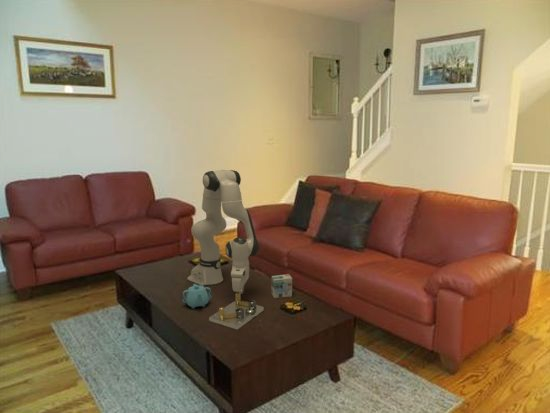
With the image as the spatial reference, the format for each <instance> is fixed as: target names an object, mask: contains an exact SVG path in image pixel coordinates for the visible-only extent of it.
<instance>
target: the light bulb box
mask: <svg viewBox="0 0 550 413" xmlns="http://www.w3.org/2000/svg"><path fill="white" fill-rule="evenodd" d="M271 295H272V297H273V299H279V298H288V297H289V298H290V297H292V296H293V277H292V276H291V275H290V274H289V273H287V274H279V275H271Z"/></svg>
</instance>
